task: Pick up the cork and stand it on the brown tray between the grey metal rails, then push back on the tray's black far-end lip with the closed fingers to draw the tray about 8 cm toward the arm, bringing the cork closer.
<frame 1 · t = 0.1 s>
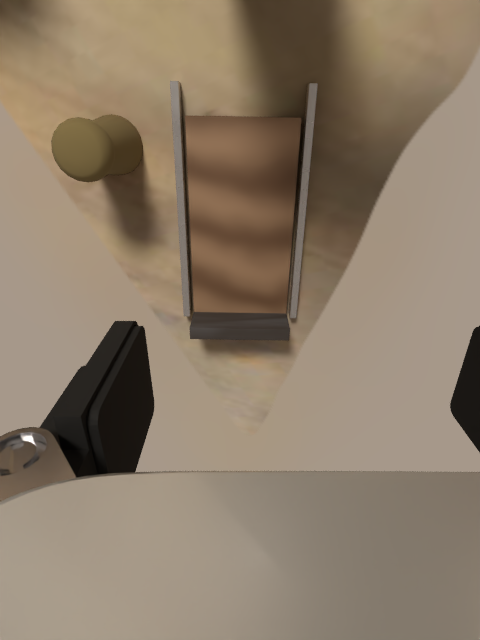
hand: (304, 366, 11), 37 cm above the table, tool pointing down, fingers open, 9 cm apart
cork: (115, 145, 42), on the table
rails: (241, 229, 46), on the table
brown tray: (241, 235, 43), point 3 cm above the table, slide at 0.0 cm
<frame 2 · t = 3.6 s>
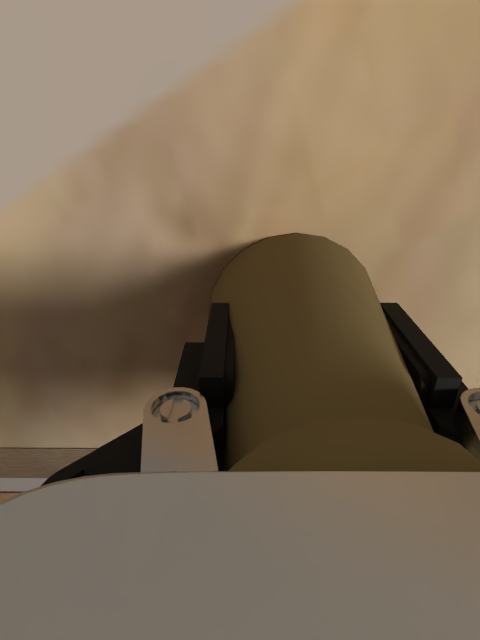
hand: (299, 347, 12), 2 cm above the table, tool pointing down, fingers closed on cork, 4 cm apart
cork: (290, 312, 14), on the table, touching gripper
rails: (107, 549, 20), on the table
brown tray: (87, 610, 18), point 3 cm above the table, slide at 0.0 cm
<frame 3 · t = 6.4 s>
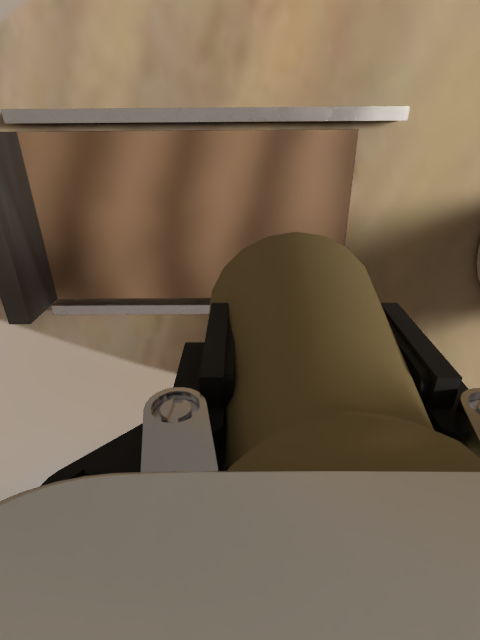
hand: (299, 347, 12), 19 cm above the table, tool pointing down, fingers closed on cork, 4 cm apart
cork: (290, 311, 14), point 17 cm above the table, touching gripper
rails: (184, 218, 29), on the table
brown tray: (179, 227, 26), point 3 cm above the table, slide at 0.0 cm
when the fingers open (5 cm above the table, at t = 9.3 s): cork drops 1 cm, resting on brown tray.
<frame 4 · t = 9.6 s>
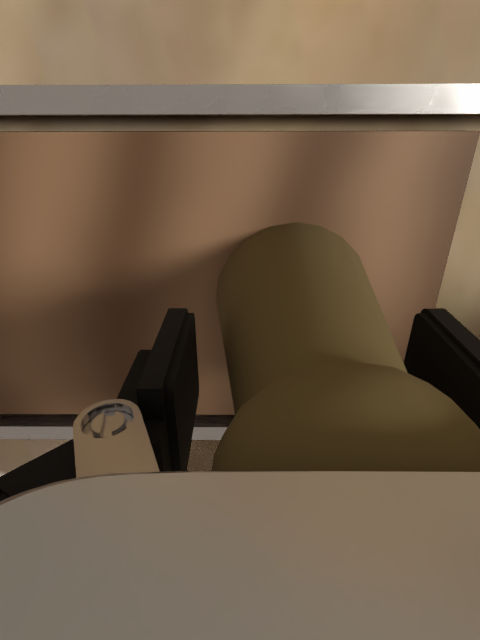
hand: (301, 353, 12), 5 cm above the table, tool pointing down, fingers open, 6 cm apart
cork: (290, 296, 15), point 1 cm above the table, touching brown tray
rails: (145, 286, 16), on the table
brown tray: (126, 316, 14), point 3 cm above the table, slide at 0.0 cm, touching cork
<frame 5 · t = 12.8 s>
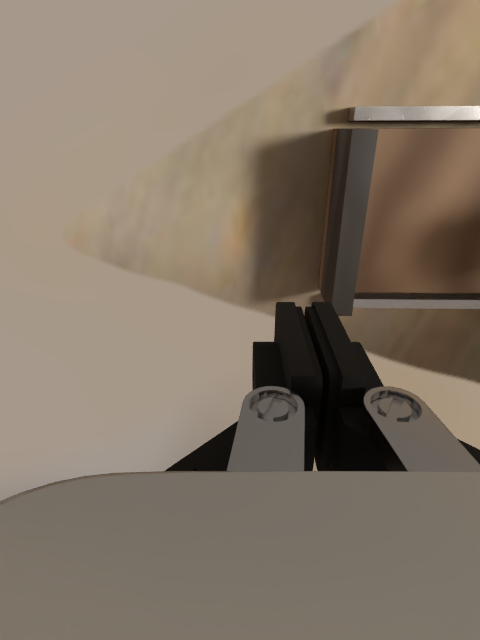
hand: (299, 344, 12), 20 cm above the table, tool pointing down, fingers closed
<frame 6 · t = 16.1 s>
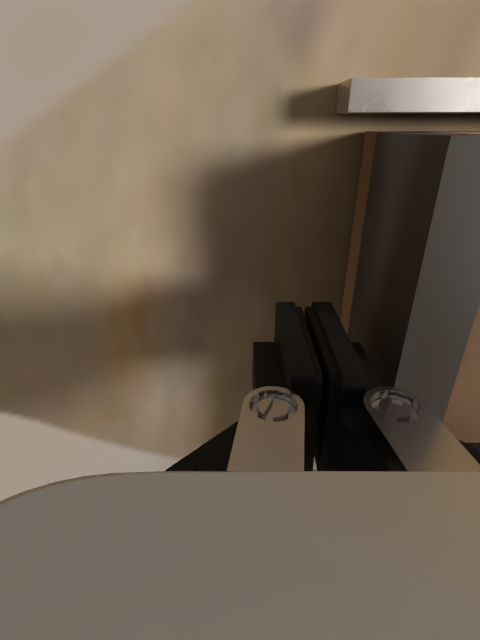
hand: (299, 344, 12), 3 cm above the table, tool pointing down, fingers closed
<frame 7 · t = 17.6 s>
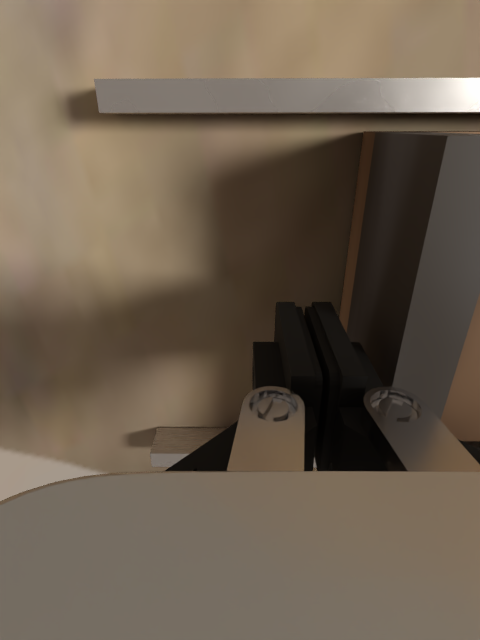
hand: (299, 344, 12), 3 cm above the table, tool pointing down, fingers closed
rails: (421, 302, 15), on the table
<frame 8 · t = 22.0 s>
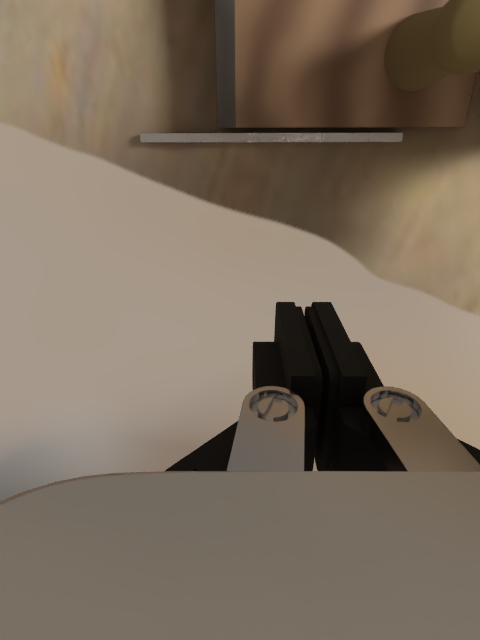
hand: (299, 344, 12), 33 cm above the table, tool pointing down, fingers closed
cork: (416, 53, 35), point 1 cm above the table, touching brown tray
rails: (251, 56, 36), on the table
brown tray: (354, 50, 33), point 3 cm above the table, slide at 9.0 cm, touching cork
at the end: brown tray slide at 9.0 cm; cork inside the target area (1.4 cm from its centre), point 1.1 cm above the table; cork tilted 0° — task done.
